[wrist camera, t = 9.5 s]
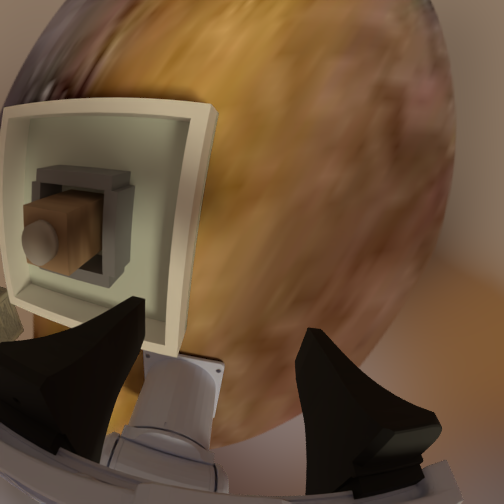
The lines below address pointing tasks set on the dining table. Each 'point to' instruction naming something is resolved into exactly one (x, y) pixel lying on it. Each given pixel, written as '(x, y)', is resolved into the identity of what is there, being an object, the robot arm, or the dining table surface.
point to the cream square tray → (110, 204)
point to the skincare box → (8, 319)
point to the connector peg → (63, 230)
